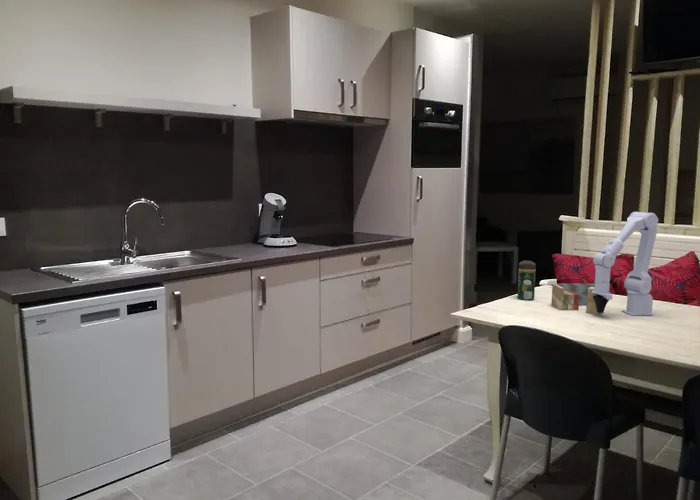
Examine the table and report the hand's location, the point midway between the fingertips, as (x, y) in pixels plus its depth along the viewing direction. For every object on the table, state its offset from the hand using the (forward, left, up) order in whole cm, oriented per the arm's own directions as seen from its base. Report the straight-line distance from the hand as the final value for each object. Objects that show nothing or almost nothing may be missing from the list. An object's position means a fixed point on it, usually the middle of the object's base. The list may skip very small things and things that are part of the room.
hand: (600, 312), depth 234 cm
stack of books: (+3, -16, -1) cm, 16 cm away
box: (0, -6, -2) cm, 6 cm away
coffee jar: (+20, -35, -2) cm, 40 cm away
